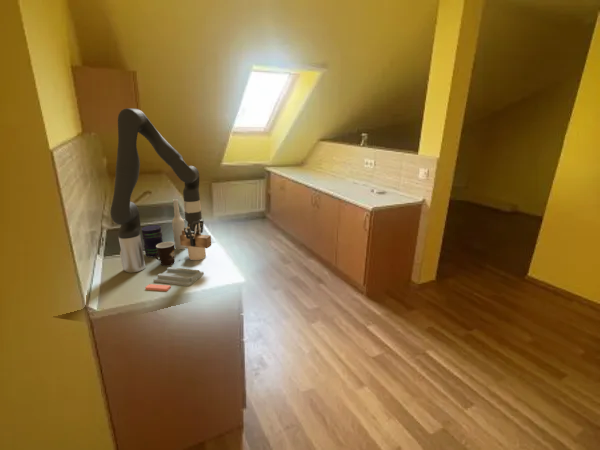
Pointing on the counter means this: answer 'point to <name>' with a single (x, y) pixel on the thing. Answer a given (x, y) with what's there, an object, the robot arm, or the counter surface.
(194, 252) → the teacup with lid
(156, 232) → the storage jar
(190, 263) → the counter surface
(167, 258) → the coffee mug
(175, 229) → the bottle
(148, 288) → the salmon pink bar
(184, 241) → the plank with peg
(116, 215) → the robot arm
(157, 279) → the cradle jig
